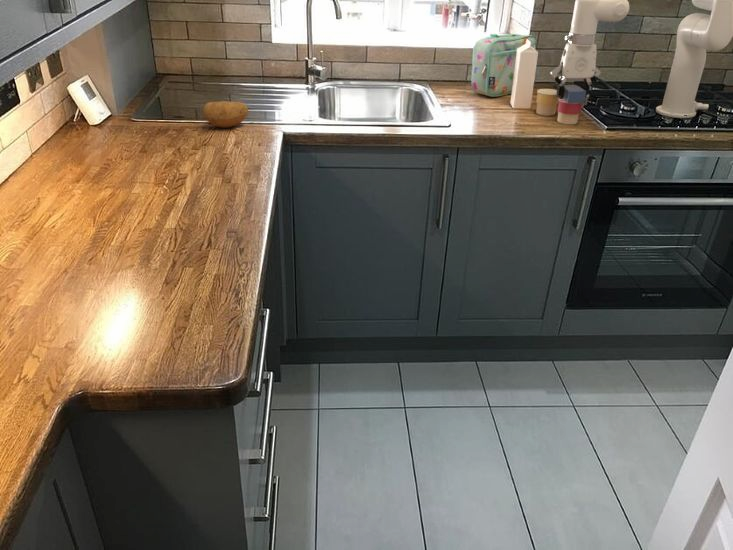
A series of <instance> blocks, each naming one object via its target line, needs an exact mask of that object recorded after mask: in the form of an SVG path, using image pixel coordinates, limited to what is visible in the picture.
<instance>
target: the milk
mask: <svg viewBox="0 0 733 550" xmlns="http://www.w3.org/2000/svg"><path fill="white" fill-rule="evenodd" d="M538 56H539V51H538V50H537V49H536V50H535V49H534V48H532V47H531V42H530V41H529V40H528V39H527V41H526V44H525V45H523V46H521V47H519V48H518V49H517V52H516V61H515V69H514V77H513V85H512V93H511V94H510V102H509V104H510V106H511V107H512V108H513V109H531V106H532V100H533V94H534V93H533V92H534V85H535V80H536V79H535V78H536V71H537V64H538V63H537V62H538Z"/></svg>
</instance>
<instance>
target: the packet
mask: <svg viewBox="0 0 733 550" xmlns="http://www.w3.org/2000/svg"><path fill="white" fill-rule="evenodd" d="M564 86H565V89H564V95H563V98H562V100H564V101H566V102H567V103H584V101H585V96H586V91H585V90H584V89H582V87H581V86H578V85H577V84H564Z"/></svg>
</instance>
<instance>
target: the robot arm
mask: <svg viewBox="0 0 733 550" xmlns="http://www.w3.org/2000/svg"><path fill="white" fill-rule="evenodd" d="M691 3H692V5H693V6H694V7H696V8H698V9H702V10H706V11H710V14H707V13H703V12H702V13H701V12H694V13H690V14H688V15H687V16H685V17H684V18H682V20H681V21H680V23H679V25H678V27H677V31H676V43H675V44H676V45H675V51H674V56H673V60H672V64H671V68H670V72H669V76H668V79H667V83H666V88H665V90H664V91H665V92H664V95H663V100H662V104H661V105H658V106H656V107H655V112H656V114H659V115H661V116H664V117H668V118H673V119H675V118H676V119H690V118H694V117H696V115H697V111H698V110H700V111H701V110H702V111H708V110H709V104H708V103H703V102H697V101H696V97H697V93H698V89H699V86H700V82H701V80H702V75H703V72H704V68H705V66H706V62H707V61H706V60H707V51H710V52H711V51H712V52H717V51H721V50H723V49H724V48H725V47H727V46H728V45H729V44H730V42H731V41H732V39H733V0H691ZM629 12H630V2H629V1H628V0H575V2H574V6H573V13H572V19H571V23H570V24H571V25H570V31H569V33H568V35H565V36H564V40H565V41H567V43H566V44H565V46H564V48H563V52H562V54H561V57H560V63H559V65H558V66H557V67H555V68H554V69H553V70H552V71H550V76H551V77H552V78H553V80H554V82H555V83H556V84H557V86H556V87H557V88H556V90H557V97H558V98H560V99H562V98H563V95H564V89H565V86H564V85H565V83H566V82H567V81H568V80H577V79H578V80H581V79H582V80H583V82H582V83H581V88H582V89H584V90H585V91H586V96H585V98H586V97H587V95H589V90H590V86H592V84H593V83H594V82H595V81H596V80H597V78H598V77H599V76H600V75H601V74H602V71H601V70H600V69H599V68H598V66H597V65H596V64H597V51H598V50H597V44H596V43H595V40H596V34H597V28H598V23H599V22H607V23H618V22H620V21H622V20H623V19H625V18H626V17H627V16H628V14H629ZM558 75H559V76H558ZM587 98H588V97H587ZM684 115H687V116H684Z"/></svg>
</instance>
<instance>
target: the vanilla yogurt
mask: <svg viewBox="0 0 733 550" xmlns="http://www.w3.org/2000/svg"><path fill="white" fill-rule="evenodd" d="M536 93H537V94H536V100H535V102H536V109H535V113H536V114H537V115H540V116H546V117H549V116H554V115H556V110H557V106H558V105H557V104H558V101H559V98H558V97H557V89H555V88H554V89H553V88H540V89H537V90H536Z"/></svg>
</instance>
